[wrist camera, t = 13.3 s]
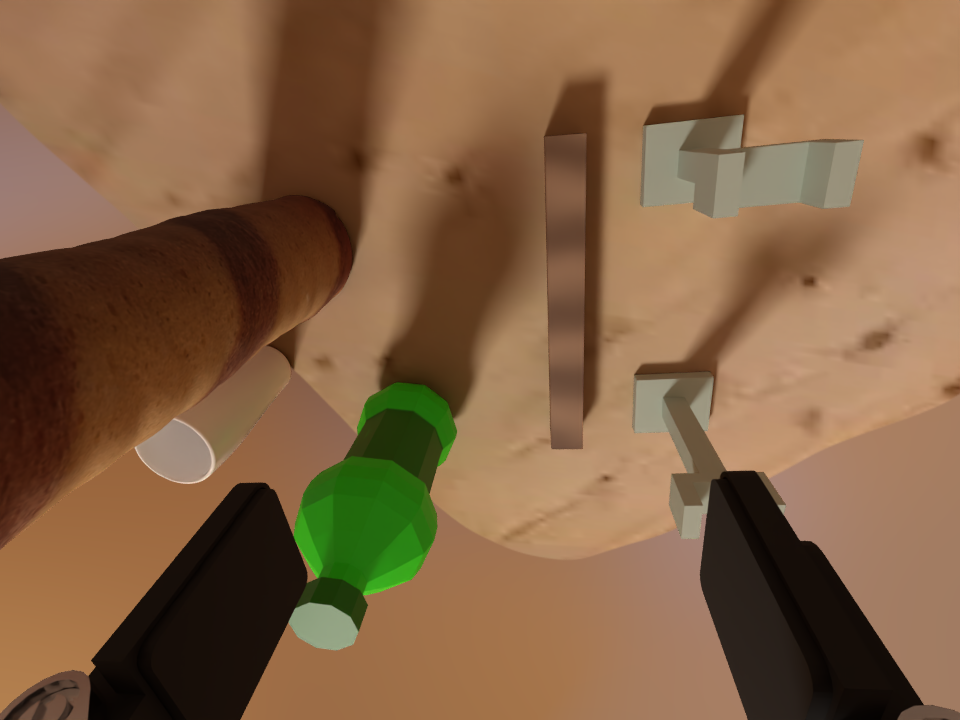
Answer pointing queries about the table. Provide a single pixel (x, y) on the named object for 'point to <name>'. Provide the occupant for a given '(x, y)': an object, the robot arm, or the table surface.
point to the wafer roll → (145, 334)
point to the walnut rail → (565, 284)
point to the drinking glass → (217, 421)
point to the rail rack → (720, 193)
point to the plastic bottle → (371, 512)
